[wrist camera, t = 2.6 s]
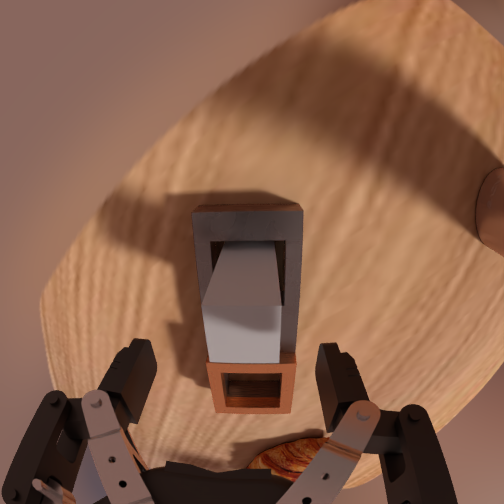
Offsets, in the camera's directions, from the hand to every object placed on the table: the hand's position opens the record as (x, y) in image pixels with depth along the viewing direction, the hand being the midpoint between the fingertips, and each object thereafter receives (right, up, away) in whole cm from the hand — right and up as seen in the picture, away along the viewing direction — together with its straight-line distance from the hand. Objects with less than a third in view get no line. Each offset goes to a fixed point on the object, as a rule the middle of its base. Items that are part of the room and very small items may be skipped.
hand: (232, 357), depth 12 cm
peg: (+1, +4, +11) cm, 12 cm away
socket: (+1, -2, +14) cm, 14 cm away
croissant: (+6, -29, +25) cm, 38 cm away
